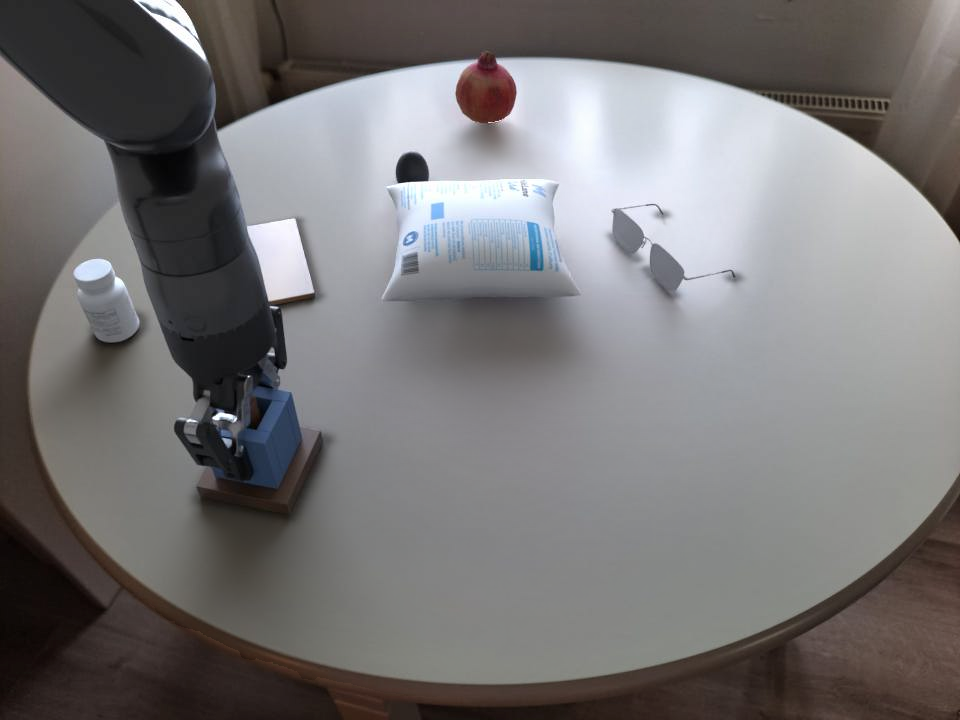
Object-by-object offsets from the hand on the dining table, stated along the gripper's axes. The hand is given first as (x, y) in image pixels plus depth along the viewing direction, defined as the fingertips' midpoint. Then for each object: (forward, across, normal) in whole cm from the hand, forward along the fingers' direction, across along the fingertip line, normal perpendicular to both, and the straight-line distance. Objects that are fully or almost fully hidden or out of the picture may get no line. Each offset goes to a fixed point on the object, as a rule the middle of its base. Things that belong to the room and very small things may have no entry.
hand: (256, 446), depth 68 cm
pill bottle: (+3, -13, -21) cm, 25 cm away
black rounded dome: (+3, -44, +1) cm, 45 cm away
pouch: (+3, -31, +12) cm, 34 cm away
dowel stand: (+3, 0, 0) cm, 3 cm away
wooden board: (+3, -25, -13) cm, 28 cm away
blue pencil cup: (+2, 0, 0) cm, 2 cm away
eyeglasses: (+3, -38, +33) cm, 50 cm away
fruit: (+3, -62, +6) cm, 62 cm away
